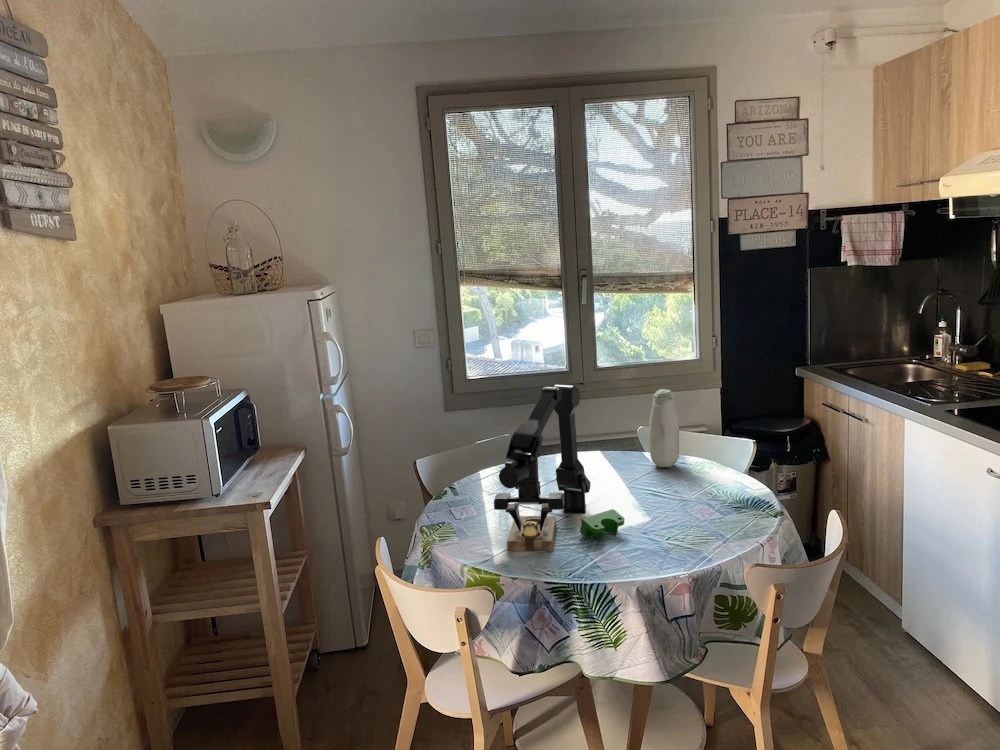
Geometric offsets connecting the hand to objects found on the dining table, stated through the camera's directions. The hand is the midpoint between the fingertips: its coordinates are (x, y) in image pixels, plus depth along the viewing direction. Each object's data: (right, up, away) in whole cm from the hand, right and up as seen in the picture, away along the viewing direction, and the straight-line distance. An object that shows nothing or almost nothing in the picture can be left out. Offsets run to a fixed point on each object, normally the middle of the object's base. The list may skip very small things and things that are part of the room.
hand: (530, 530), depth 202 cm
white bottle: (+50, +10, +59) cm, 77 cm away
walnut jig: (+1, -3, +5) cm, 6 cm away
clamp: (+20, -3, +4) cm, 21 cm away
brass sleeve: (0, -4, +1) cm, 4 cm away
